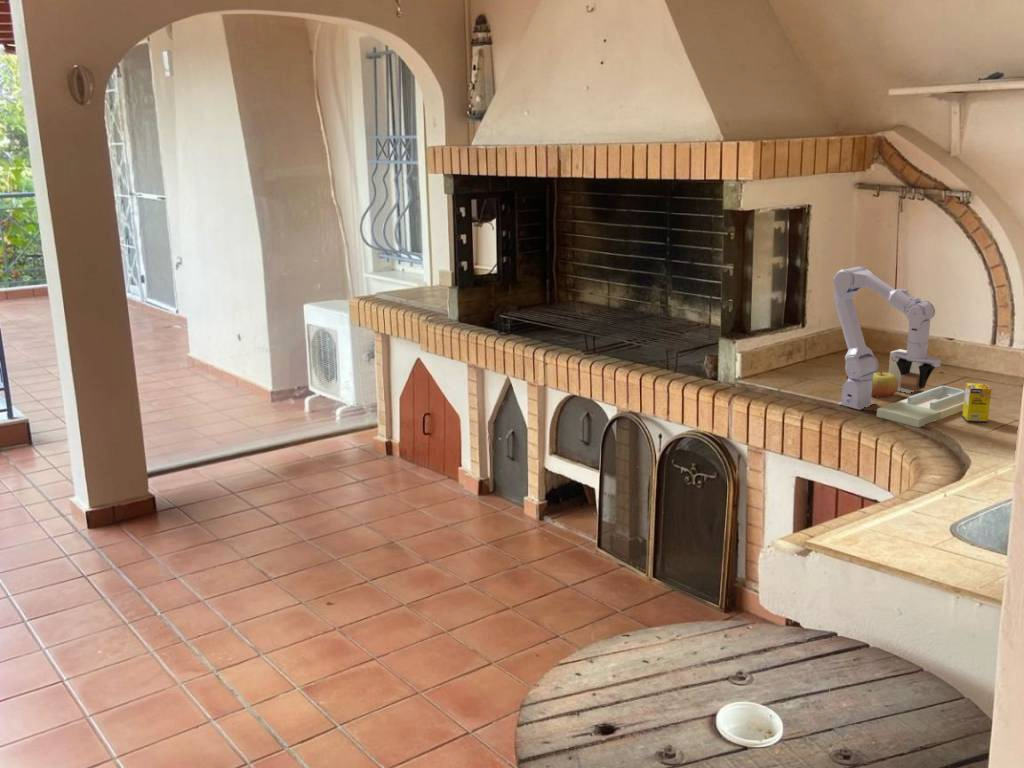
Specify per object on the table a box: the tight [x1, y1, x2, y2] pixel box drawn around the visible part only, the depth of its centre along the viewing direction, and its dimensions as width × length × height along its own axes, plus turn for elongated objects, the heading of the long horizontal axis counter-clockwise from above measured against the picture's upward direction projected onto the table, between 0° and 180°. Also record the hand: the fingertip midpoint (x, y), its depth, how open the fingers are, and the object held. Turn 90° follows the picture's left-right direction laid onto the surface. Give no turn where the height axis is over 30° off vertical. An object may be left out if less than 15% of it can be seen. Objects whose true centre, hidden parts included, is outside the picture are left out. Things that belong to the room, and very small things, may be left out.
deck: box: [876, 384, 965, 428], centre depth 302 cm, size 32×14×4 cm, turn 127°
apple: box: [871, 371, 898, 398], centre depth 319 cm, size 10×10×8 cm
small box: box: [888, 348, 922, 394], centre depth 324 cm, size 8×6×13 cm
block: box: [900, 372, 926, 392], centre depth 294 cm, size 5×5×4 cm
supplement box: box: [961, 382, 992, 424], centre depth 292 cm, size 6×6×11 cm
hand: (913, 385), depth 295 cm, fingers closed on block, 5 cm apart
